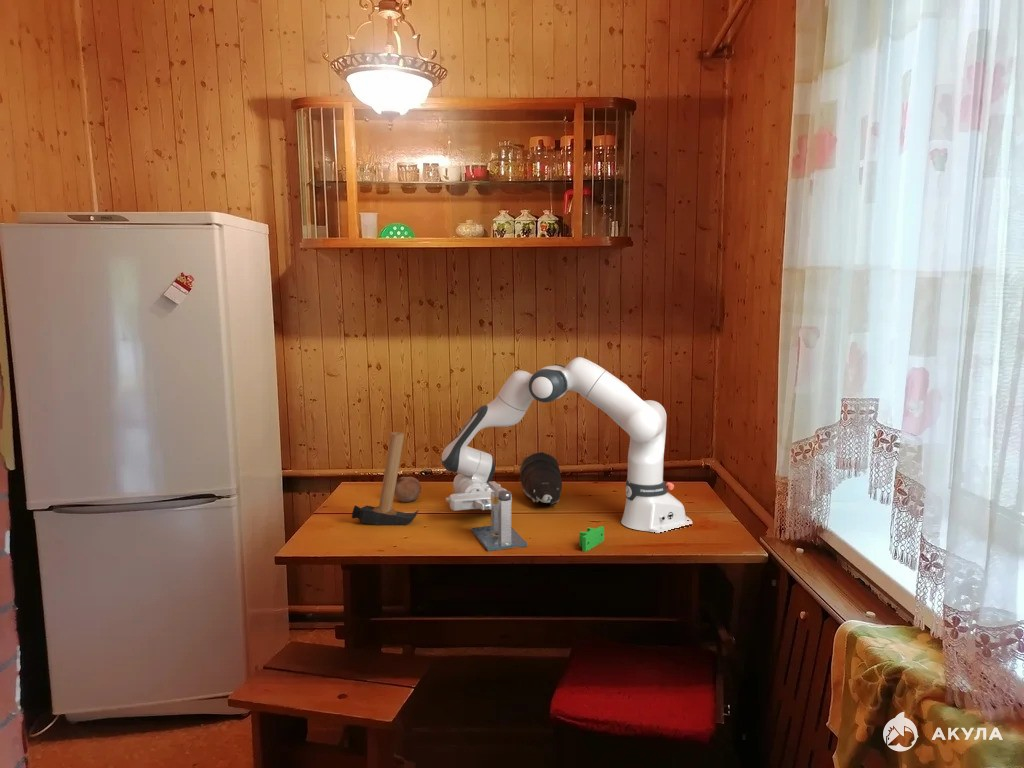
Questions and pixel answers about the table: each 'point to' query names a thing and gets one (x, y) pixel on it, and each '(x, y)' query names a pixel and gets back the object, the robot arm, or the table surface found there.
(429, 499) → the table surface
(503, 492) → the grey metal upright piece
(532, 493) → the dark brown oval body
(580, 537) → the pipe clamp
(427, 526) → the table surface
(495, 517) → the post
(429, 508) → the table surface
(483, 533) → the bolt hole plate
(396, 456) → the hammer
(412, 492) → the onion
